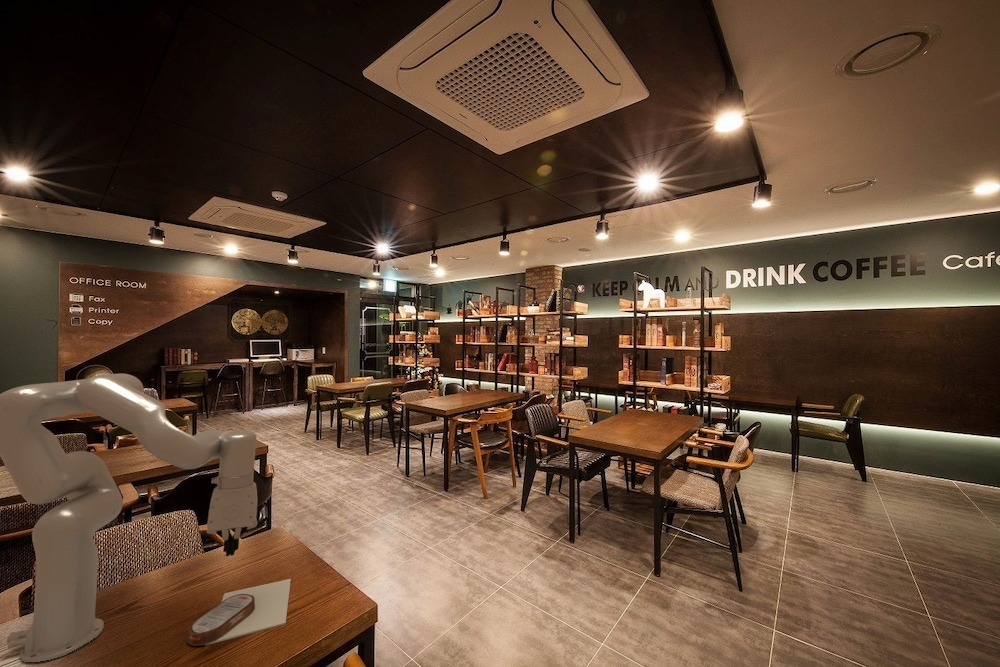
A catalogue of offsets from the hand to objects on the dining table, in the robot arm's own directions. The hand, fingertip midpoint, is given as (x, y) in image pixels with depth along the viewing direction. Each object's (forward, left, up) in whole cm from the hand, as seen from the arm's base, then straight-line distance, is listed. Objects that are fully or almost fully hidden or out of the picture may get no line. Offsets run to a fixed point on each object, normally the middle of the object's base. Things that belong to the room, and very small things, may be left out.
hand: (230, 553), depth 98 cm
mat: (+5, 0, -15) cm, 16 cm away
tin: (-4, -1, -13) cm, 14 cm away
